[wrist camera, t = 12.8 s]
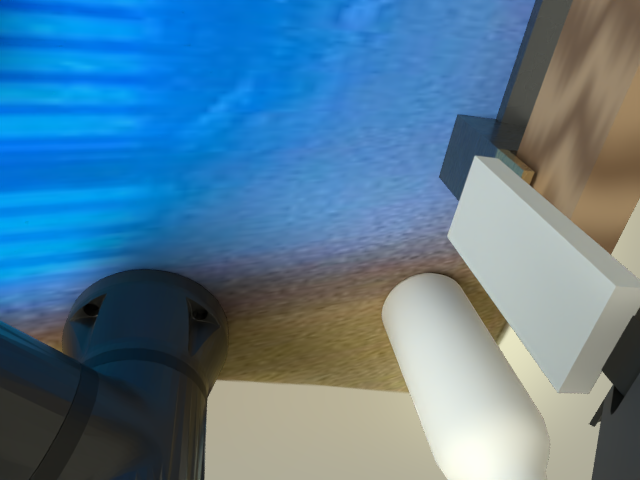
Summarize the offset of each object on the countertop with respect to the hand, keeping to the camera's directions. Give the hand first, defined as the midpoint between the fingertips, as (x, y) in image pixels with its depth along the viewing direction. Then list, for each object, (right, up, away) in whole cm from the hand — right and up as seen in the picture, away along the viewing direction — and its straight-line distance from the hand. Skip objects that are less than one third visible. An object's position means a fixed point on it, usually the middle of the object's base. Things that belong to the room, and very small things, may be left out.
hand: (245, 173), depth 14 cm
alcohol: (+12, -8, +41) cm, 44 cm away
